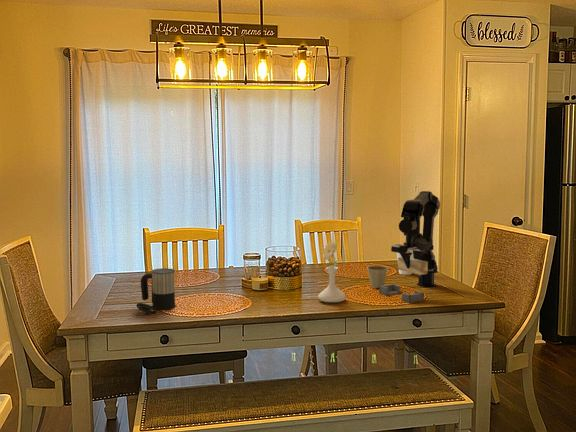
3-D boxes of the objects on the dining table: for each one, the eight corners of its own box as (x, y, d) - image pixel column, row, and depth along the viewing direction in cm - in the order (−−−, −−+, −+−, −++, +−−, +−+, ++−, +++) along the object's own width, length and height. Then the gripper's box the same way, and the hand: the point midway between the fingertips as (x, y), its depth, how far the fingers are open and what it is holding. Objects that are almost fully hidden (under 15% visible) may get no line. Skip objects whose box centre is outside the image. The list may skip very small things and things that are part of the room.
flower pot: (387, 289, 249) (387, 270, 248) (366, 288, 251) (366, 269, 250) (388, 284, 258) (388, 266, 257) (367, 283, 260) (367, 265, 259)
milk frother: (177, 303, 227) (176, 267, 226) (173, 314, 212) (172, 275, 210) (141, 305, 226) (139, 268, 224) (134, 316, 210) (133, 277, 209)
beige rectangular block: (405, 268, 243) (405, 256, 243) (427, 273, 231) (427, 261, 230) (397, 269, 241) (398, 257, 241) (419, 274, 229) (420, 262, 228)
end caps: (393, 291, 246) (393, 283, 245) (423, 300, 229) (423, 293, 229) (379, 293, 242) (379, 285, 242) (409, 303, 225) (409, 295, 225)
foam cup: (392, 273, 284) (392, 247, 282) (404, 270, 289) (405, 245, 288) (406, 276, 276) (406, 249, 275) (419, 273, 281) (419, 247, 280)
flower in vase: (316, 298, 235) (316, 238, 232) (343, 297, 235) (343, 238, 233) (320, 306, 222) (320, 243, 219) (348, 305, 222) (349, 242, 220)
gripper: (409, 234, 223) (408, 273, 224) (443, 231, 232) (442, 268, 234) (390, 231, 233) (390, 268, 234) (424, 228, 242) (423, 264, 243)
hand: (412, 267), depth 236 cm, fingers closed on beige rectangular block, 4 cm apart
